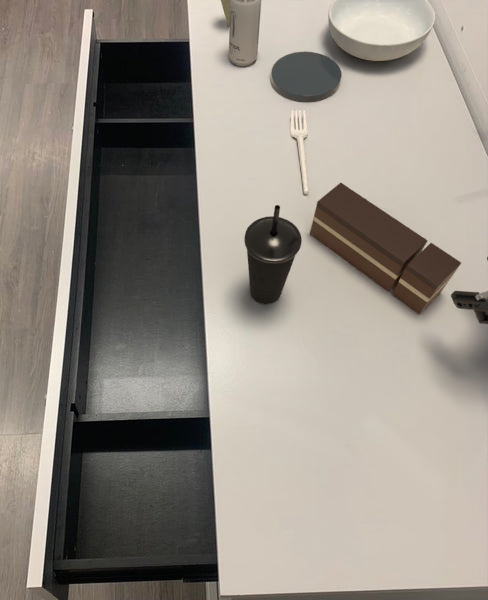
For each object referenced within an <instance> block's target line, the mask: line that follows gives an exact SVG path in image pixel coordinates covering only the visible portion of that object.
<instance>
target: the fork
mask: <svg viewBox="0 0 488 600" xmlns="http://www.w3.org/2000/svg"><path fill="white" fill-rule="evenodd" d="M302 113H303V114H302ZM302 115H303V116H302ZM294 116H295V117H294ZM306 116H307V115H306V109H303V112H302V110H301V109H299V111H298V109H295V115H294V109H292V110H291V115H290V126H289V135H290V137H292V138H295V139H296V140H297V147H298V148H297V149H298V155H299V156H298V157H299V164H300V165H299V166H300V173H301V181H302V189H303V194H304V195H308V194H309V186H308V185H309V184H308V177H307V174H308V173H307V165H306V163H307V162H306V153H305V143H304V142H305V141H304V139H305V138H306V137H308V136H309V132H308V124H307V117H306ZM294 118H295V119H294ZM294 121H295V122H294Z"/></svg>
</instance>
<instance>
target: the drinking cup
mask: <svg viewBox="0 0 488 600" xmlns="http://www.w3.org/2000/svg"><path fill="white" fill-rule="evenodd" d="M280 211H281V206H280V205H279V204H276V205H274V209H273V215H271V216H264V217H261V218H258V219H256V220H254V221H253V222H251V224H249V225H248V227H247V228H246V230H245V233H244V236H243V237H244V240H243V241H244V242H243V243H244V246H245V249H246V257H247V267H248V268H247V269H248V270H247V271H248V281H249V293H250V296H251V298H252V299H253V300H254V301H255V302H256V303H258V304H260V305H271V304H275V303H276V302H277V301H278V300H279V299H280V298H281V296H280V295H282V293H283V290H284V288H285V285H286V281H287V280H288V276H289V274H290V271H291V269H292V266H293V263H294V261H295V259H296V256H297V255H298V253H299V251H300V249H301V247H302V242H303V240H302V234H301V231H300V230H299V228H298V227H297V226H296V225H295V224H294V223H293V222H292V221H290V220H288V219H286V218H283V217H280Z"/></svg>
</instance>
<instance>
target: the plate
mask: <svg viewBox="0 0 488 600" xmlns="http://www.w3.org/2000/svg"><path fill="white" fill-rule="evenodd" d="M270 73H271V74H270V82H271V85H272V87H273V89H274V90H275V91H276V92H277V93H278V94H279V95H280V96H282V97H284V98H286V99H288V100H291V101H294V102H300V103H313V102H319V101H323V100H326V99H328V98H330V97H331V96H333V95H334V94H335V93H336V92H337V91H338V89H339V87H340V85H341V81H342V77H343V76H342V74H343V73H342V70H341V67H340V66H339V65H338V63H337V62H336V61H335V60H333V59H332V58H331V57H329V56H328V55H324V54H322V53H319V52H314V51H296V52H292V53H288V54H285V55H284V56H282V57H280V58H278V60H277V61H275V63H274V64H273V65H272V68H271V72H270Z"/></svg>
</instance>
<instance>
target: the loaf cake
mask: <svg viewBox="0 0 488 600" xmlns="http://www.w3.org/2000/svg"><path fill="white" fill-rule="evenodd" d="M309 230H310V231H309V234H310V235H311V236H312V237H314V238H315V239H317V240H318V241H319V242H321V243H322V244H323V245H324V246H326V247H328V248H329V249H330V250H331V251H333V252H334V253H335V254H337V255H338V256H340V257H341V258H342V259H343V260H344V261H346V262H348V263H349V264H350V265H352V267H354V268H356V269H357V270H358V271H360V272H361V273H363V274H364V275H365V276H366V277H368V278H369V279H371V280H372V281H373V282H374V283H376V284H377V285H379V286H380V287H381V288H382V289H384V290H385V291H387V292H388V293H390V292H391V291H392V290H394V289H395V287H396V285H397V284H398V282H399V280H400V278H401V276H402V274H403V273H404V271H405V269H406V267H407V265H408V264H409V263H410V262H411V261H412V260H413V259H414V258H415V257H416V256H417V255H418V254H420V253H421V252H422V251H423V250H424V249H425V246H427V243H428V240H427V239H426V238H424V237H423V236H422V235H421V234H419V233H418V232H416V231H414V230H413V229H412V228H410V227H408V226H407V225H405V224H404V223H402V222H401V221H400V220H398V219H397V218H395V217H394V216H392V215H390V214H389V213H387V212H386V211H384V210H383V209H382V208H380V207H378V206H377V205H375V204H374V203H372V202H371V201H369V200H368V199H367V198H365V197H363V196H361V194H359V193H357V192H356V191H355V190H353V189H351V188H350V187H348V186H347V185H346V184H344V183H343V182H340V183H338V184H337V185H335V186H334V187H333V188H332V189H331V190H330V191H328V192H327V193H325V195H323V196H322V197H320V199H318V200H317V201H316V206H315V210H314V214H313V218H312V223H311V226H310V229H309Z"/></svg>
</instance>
